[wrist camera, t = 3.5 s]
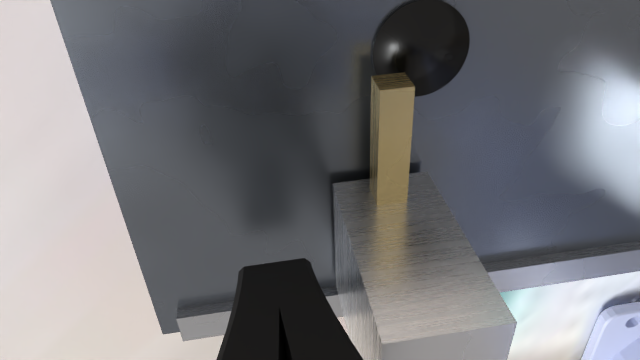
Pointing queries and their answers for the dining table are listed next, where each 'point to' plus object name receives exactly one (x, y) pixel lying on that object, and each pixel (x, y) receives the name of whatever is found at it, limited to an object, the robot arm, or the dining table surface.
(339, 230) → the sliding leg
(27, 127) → the dining table surface
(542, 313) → the dining table surface
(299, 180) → the gauge plate
